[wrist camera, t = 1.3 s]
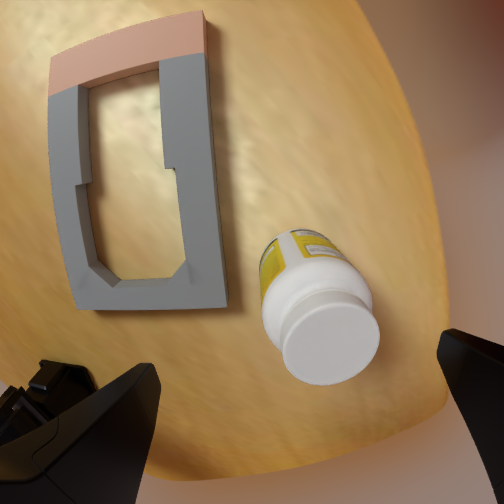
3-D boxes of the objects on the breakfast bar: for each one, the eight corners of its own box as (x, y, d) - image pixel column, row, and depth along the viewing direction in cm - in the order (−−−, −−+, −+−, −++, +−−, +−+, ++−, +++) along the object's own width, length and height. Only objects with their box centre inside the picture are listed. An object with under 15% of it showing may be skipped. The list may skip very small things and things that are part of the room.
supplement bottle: (277, 312, 21) (290, 412, 12) (246, 246, 20) (237, 319, 10) (346, 283, 20) (404, 366, 11) (321, 214, 19) (380, 259, 10)
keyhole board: (228, 297, 21) (227, 307, 19) (86, 301, 21) (77, 309, 20) (205, 19, 15) (202, 10, 14) (61, 61, 16) (50, 57, 14)
